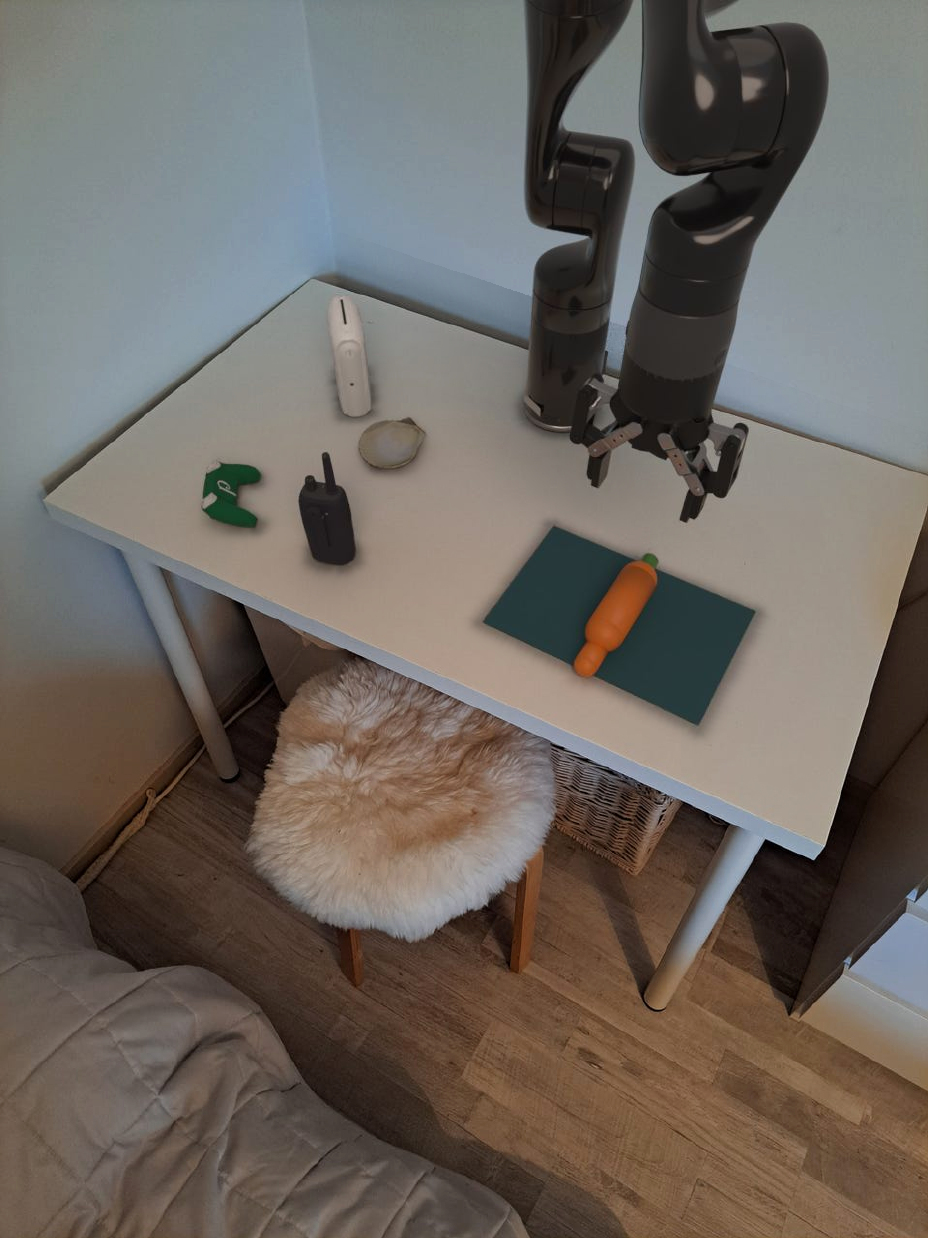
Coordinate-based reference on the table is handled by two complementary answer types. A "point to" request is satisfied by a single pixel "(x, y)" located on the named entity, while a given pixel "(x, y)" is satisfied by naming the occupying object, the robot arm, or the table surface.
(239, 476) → the gaming controller
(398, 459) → the seashell
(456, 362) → the table surface
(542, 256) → the robot arm
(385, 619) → the table surface
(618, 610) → the carrot
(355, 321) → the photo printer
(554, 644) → the cloth
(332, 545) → the two-way radio
